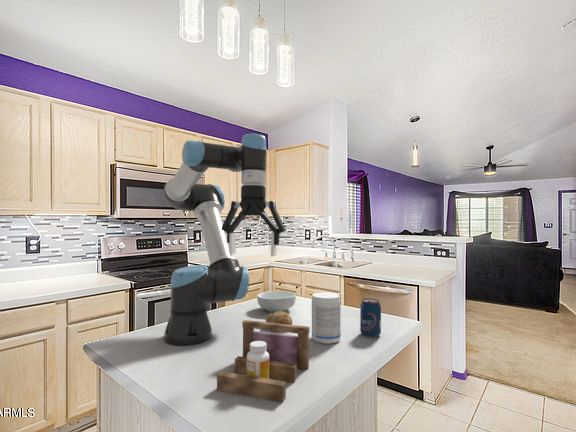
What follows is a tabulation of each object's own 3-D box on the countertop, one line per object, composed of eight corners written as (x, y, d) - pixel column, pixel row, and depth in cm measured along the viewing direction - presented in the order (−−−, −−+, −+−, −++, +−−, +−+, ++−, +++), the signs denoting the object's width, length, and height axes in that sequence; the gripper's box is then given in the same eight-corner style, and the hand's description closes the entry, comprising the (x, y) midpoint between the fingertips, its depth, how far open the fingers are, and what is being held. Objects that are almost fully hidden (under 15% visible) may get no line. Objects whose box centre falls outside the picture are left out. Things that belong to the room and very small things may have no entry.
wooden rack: (211, 389, 76) (211, 342, 76) (245, 356, 94) (245, 319, 94) (289, 403, 70) (290, 352, 70) (309, 366, 88) (310, 326, 89)
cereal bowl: (279, 303, 155) (280, 288, 155) (303, 311, 142) (303, 295, 143) (249, 309, 144) (249, 293, 145) (272, 318, 132) (272, 300, 132)
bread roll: (263, 339, 118) (260, 322, 115) (270, 319, 127) (268, 303, 124) (290, 342, 116) (288, 324, 113) (295, 322, 125) (294, 305, 122)
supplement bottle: (269, 379, 81) (269, 339, 81) (268, 390, 76) (269, 347, 76) (247, 379, 81) (248, 339, 81) (245, 390, 75) (245, 347, 76)
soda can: (357, 336, 112) (358, 301, 112) (363, 330, 118) (363, 297, 118) (378, 340, 109) (378, 303, 109) (382, 333, 115) (382, 299, 115)
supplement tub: (346, 341, 107) (346, 296, 108) (324, 346, 102) (324, 299, 102) (327, 332, 115) (327, 290, 116) (305, 337, 110) (306, 293, 110)
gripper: (211, 185, 100) (209, 254, 100) (288, 183, 93) (288, 257, 93) (222, 187, 107) (221, 252, 107) (295, 186, 100) (295, 255, 100)
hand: (252, 255), depth 100 cm, fingers open, 13 cm apart
